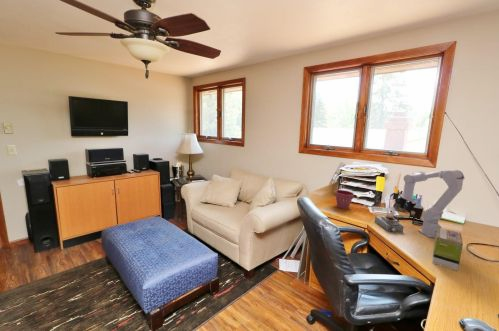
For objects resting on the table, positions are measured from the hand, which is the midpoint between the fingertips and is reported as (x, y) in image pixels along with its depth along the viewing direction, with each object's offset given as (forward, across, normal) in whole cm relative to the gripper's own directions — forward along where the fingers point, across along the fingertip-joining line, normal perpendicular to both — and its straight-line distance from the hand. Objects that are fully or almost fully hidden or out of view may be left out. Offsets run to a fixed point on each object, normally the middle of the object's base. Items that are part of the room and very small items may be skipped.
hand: (405, 209), depth 164 cm
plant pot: (+10, +29, +32) cm, 44 cm away
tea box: (+10, -47, +9) cm, 49 cm away
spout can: (+6, -6, +14) cm, 16 cm away
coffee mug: (+10, +10, -14) cm, 20 cm away
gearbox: (+10, -7, +15) cm, 19 cm away
